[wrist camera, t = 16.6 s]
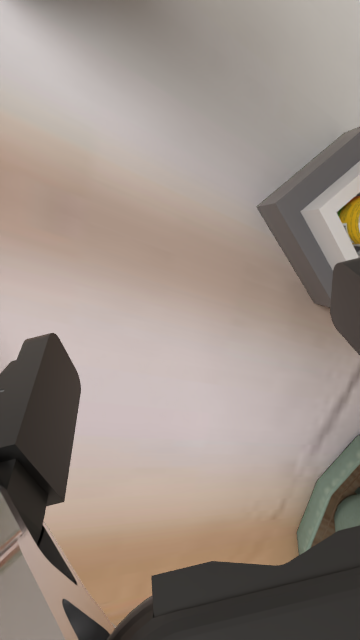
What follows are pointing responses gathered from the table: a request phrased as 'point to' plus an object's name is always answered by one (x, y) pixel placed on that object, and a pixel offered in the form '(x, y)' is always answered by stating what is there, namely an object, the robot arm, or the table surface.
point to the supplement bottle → (351, 219)
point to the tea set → (333, 500)
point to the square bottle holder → (317, 215)
